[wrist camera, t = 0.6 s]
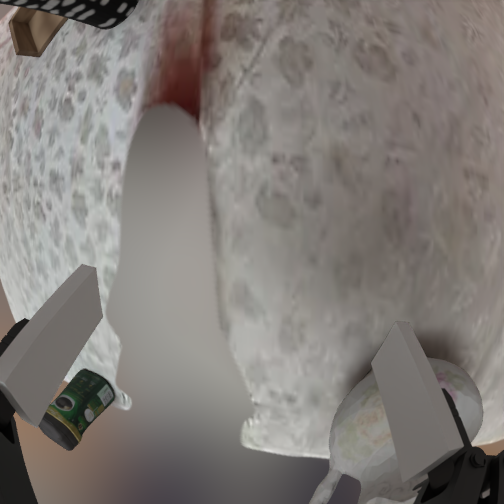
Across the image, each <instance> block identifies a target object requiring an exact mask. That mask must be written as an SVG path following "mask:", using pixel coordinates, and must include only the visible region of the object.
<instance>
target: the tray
mask: <svg viewBox="0 0 504 504" xmlns="http://www.w3.org/2000/svg"><path fill="white" fill-rule="evenodd" d="M67 19H68V18H66V17H62V16H58V15H55V14H51V13H47V12H42V11H38V10H34V9H29V8H24V7H19V8H18V9H17V11H16V12H15V14H14V15H13V17H12V18H11V20H10V21H9V27H10V32H11V36H12V40H13V44H14V48H15V52H16V55H23V56H33V57H40V56H41V54H42V53H43V51H44V50H45V49H46V47H47V46H48V44H49V43H50V41H51V40H52V39H53V37H54V36H55V35H56V33H57V32H58V31H59V29H60V28H61V27H62V26H63V24H64V23H65V22H66V21H67Z"/></svg>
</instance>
